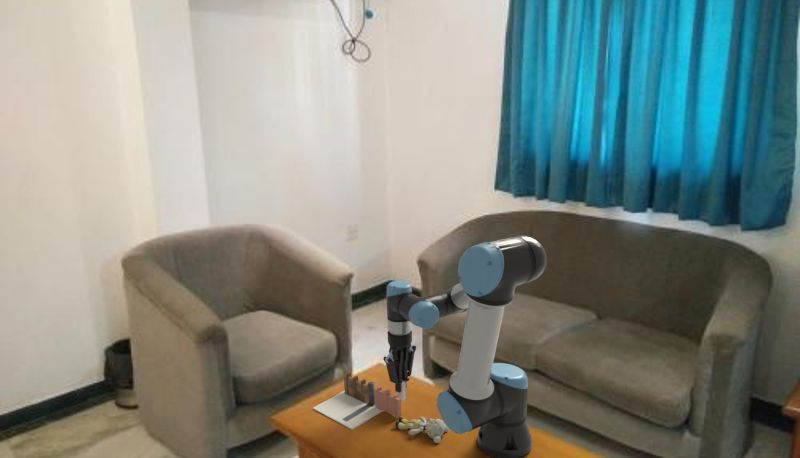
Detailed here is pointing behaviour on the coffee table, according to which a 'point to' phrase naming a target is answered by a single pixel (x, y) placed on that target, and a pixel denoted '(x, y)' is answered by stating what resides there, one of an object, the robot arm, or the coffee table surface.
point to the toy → (423, 427)
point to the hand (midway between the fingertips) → (401, 399)
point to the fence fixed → (359, 389)
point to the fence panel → (387, 401)
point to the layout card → (347, 410)
